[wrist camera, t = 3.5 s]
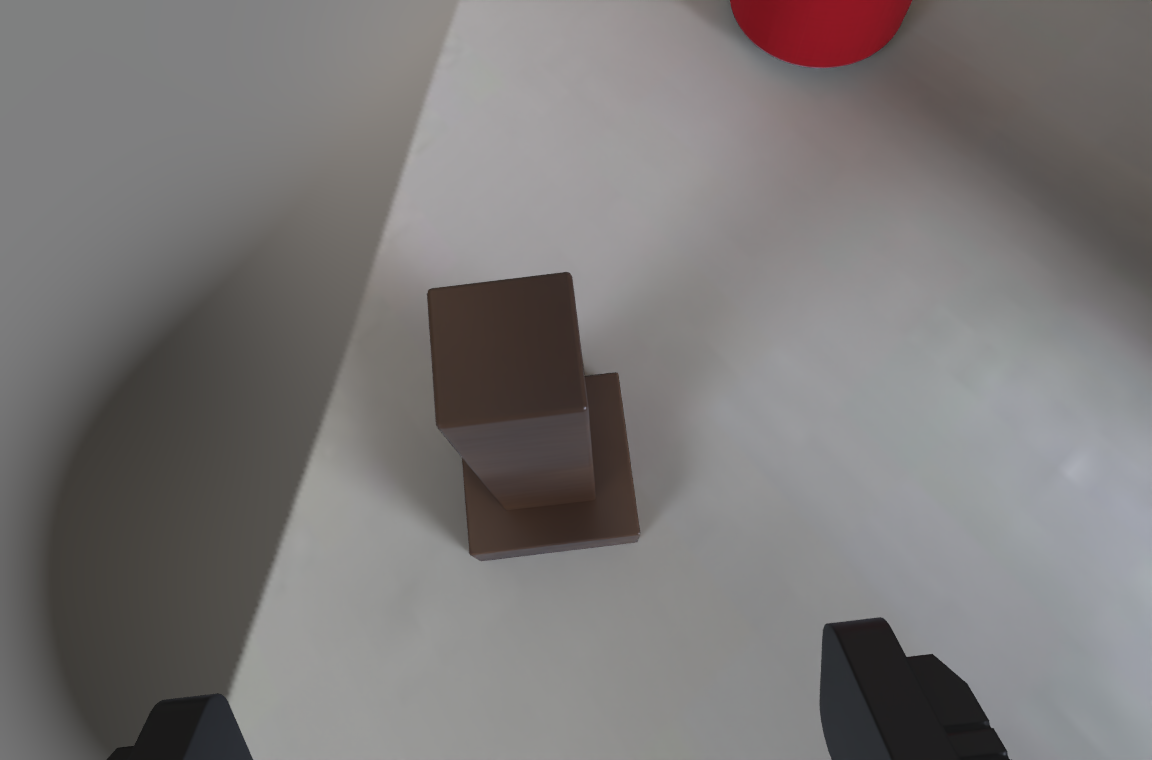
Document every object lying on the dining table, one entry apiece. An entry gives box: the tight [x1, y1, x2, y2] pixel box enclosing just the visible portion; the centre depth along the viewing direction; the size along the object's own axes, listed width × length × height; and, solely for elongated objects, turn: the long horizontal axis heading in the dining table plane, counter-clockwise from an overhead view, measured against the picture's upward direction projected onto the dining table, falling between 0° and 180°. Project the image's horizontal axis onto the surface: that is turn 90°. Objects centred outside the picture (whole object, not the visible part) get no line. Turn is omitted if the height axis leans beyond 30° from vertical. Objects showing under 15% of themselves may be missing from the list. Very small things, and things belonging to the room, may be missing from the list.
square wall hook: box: [427, 272, 640, 561], centre depth 20 cm, size 5×5×12 cm
